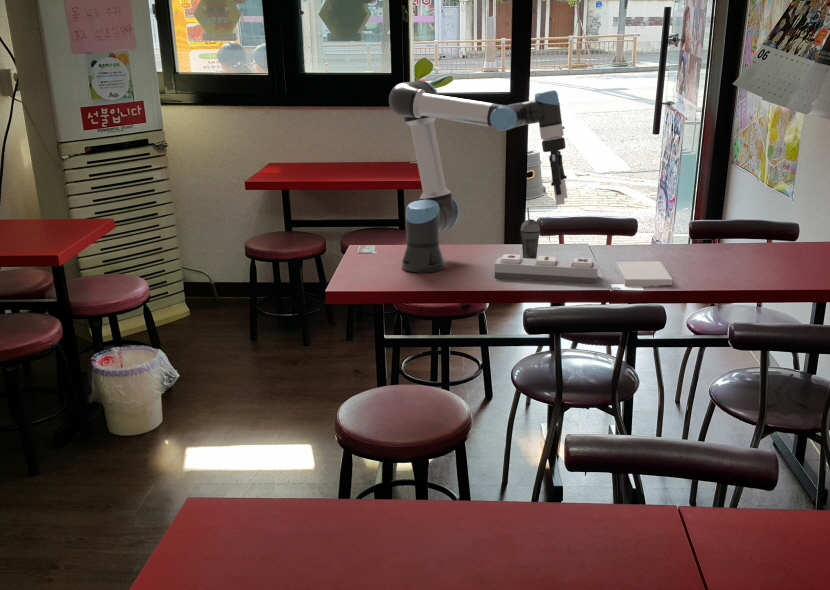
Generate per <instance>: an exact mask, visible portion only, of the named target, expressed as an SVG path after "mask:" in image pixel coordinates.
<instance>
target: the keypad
mask: <svg viewBox="0 0 830 590" xmlns="http://www.w3.org/2000/svg"><path fill="white" fill-rule="evenodd" d="M502 257H503V256H498V258H497V259H496V261H495V263H494V272H493V274H494V277H497V278H496V279H507V278H510V279H509V280H524V279H530V280H529V281H541V280H546V281H545V282H558V281H563V283H575V282H579V283H580V284H592V283H596V282H597V281H598V277H599V275H598V273H599V262H598V261H592V268H581V267H573V261H574V260H562V259H556V266H544V265H537V259H538V258H536V259H528V258H523V257H521V263H520V264H507V263H501V258H502ZM494 277H493V278H494ZM498 277H499V278H498ZM564 281H565V282H564ZM596 284H597V283H596Z"/></svg>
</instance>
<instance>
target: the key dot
mask: <svg viewBox="0 0 830 590" xmlns="http://www.w3.org/2000/svg"><path fill="white" fill-rule="evenodd" d="M501 257H502V258H501V263H507V264H520V263H521V258H522V254H511V253H510V254H509V253H508V254H507V253H504V254H503V255H502V256H501Z"/></svg>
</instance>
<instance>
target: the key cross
mask: <svg viewBox="0 0 830 590" xmlns="http://www.w3.org/2000/svg"><path fill="white" fill-rule="evenodd" d="M572 261H573V267H581V268H592V262H593V258H588V257H587V258H584V257H574V258H573V260H572Z"/></svg>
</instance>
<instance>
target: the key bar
mask: <svg viewBox="0 0 830 590" xmlns="http://www.w3.org/2000/svg"><path fill="white" fill-rule="evenodd" d="M536 259H537V265H544V266H556V260H557V256H548V255H547V256H546V255H538V256H537V258H536Z"/></svg>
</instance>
